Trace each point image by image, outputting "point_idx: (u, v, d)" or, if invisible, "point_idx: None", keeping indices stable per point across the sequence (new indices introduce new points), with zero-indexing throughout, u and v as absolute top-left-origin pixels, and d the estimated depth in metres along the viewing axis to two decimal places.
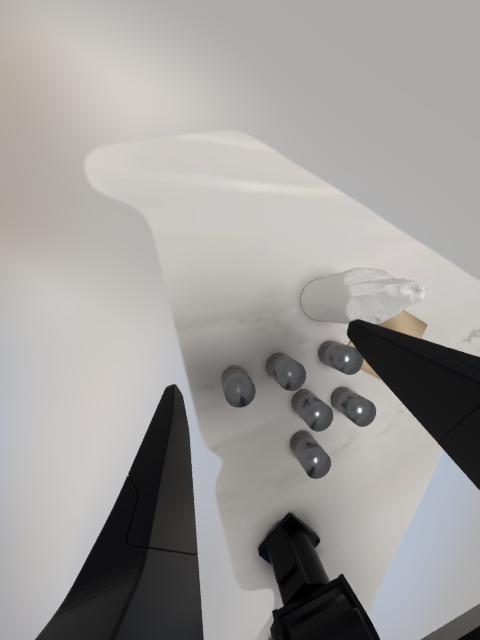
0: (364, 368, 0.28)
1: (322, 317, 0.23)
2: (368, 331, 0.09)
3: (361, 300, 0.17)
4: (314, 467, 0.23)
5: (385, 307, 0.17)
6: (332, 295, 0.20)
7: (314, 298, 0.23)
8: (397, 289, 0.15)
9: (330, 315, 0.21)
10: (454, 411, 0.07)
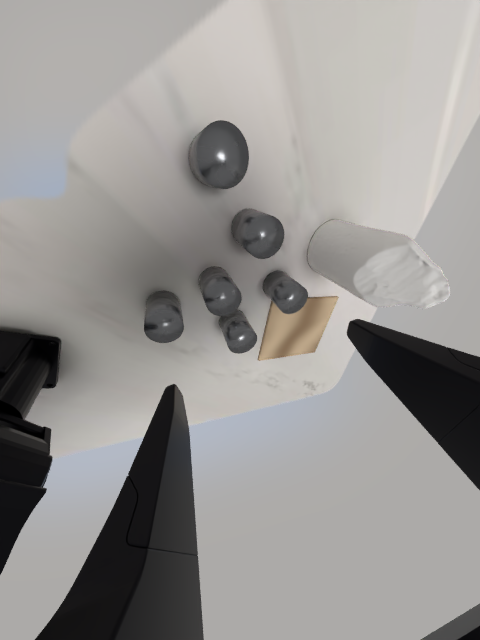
0: (269, 325, 0.27)
1: (328, 249, 0.20)
2: (368, 331, 0.09)
3: (401, 259, 0.15)
4: (159, 325, 0.17)
5: (395, 286, 0.16)
6: (381, 234, 0.16)
7: (350, 227, 0.19)
8: (436, 280, 0.14)
9: (345, 250, 0.18)
10: (454, 411, 0.07)
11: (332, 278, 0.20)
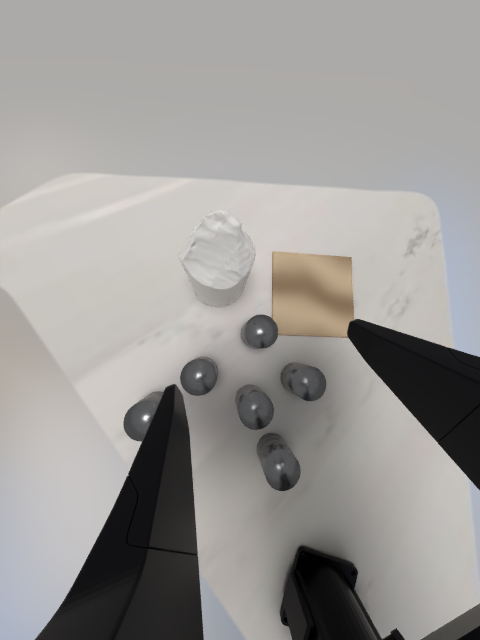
0: (303, 333, 0.24)
1: (212, 300, 0.21)
2: (368, 331, 0.09)
3: (196, 261, 0.15)
4: (279, 475, 0.18)
5: (224, 255, 0.15)
6: None
7: None
8: (206, 228, 0.13)
9: (206, 294, 0.19)
10: (454, 411, 0.07)
11: (238, 291, 0.20)
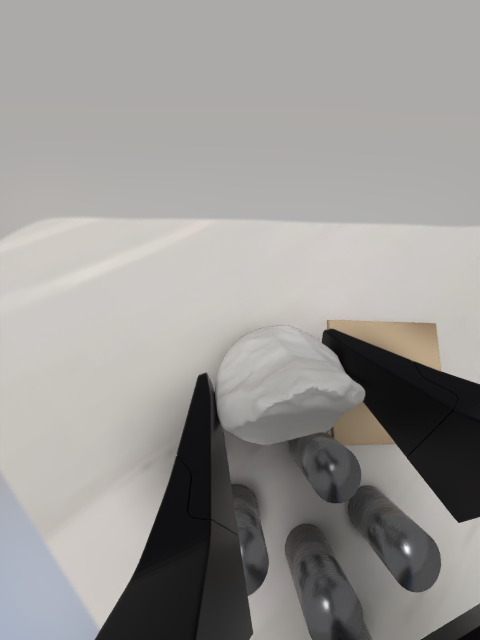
0: (377, 440, 0.17)
1: None
2: (339, 342, 0.09)
3: (251, 425, 0.08)
4: None
5: (306, 420, 0.07)
6: None
7: None
8: (288, 404, 0.06)
9: None
10: (419, 427, 0.07)
11: None
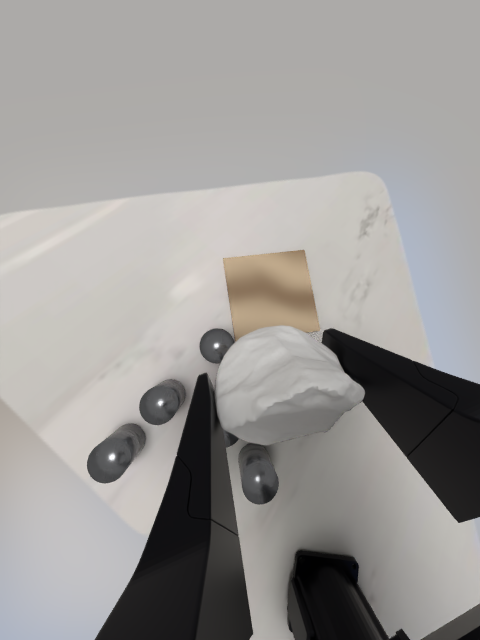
0: None
1: None
2: (339, 342, 0.09)
3: (251, 425, 0.08)
4: (257, 489, 0.18)
5: (306, 420, 0.07)
6: None
7: None
8: (288, 404, 0.06)
9: None
10: (420, 427, 0.07)
11: None
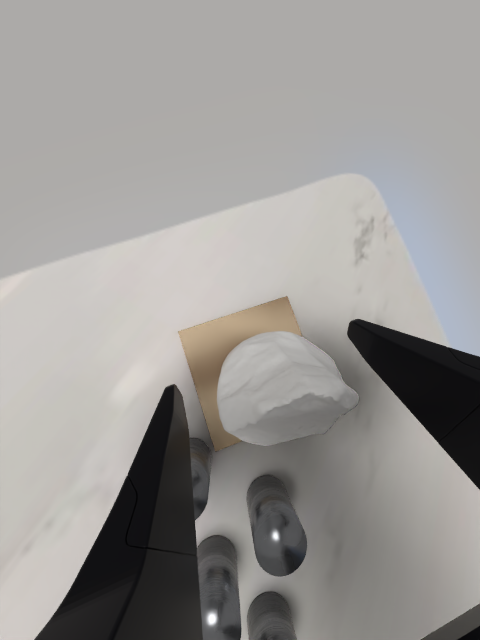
0: None
1: None
2: (368, 331, 0.09)
3: (252, 427, 0.08)
4: None
5: (304, 422, 0.08)
6: None
7: None
8: (287, 408, 0.06)
9: None
10: (455, 411, 0.07)
11: None
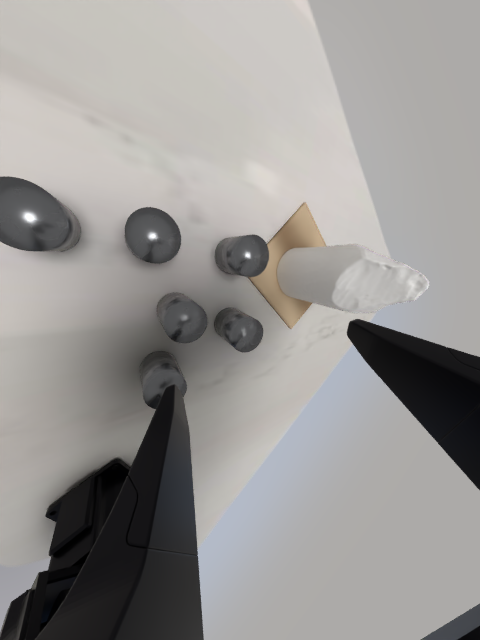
0: (265, 293, 0.22)
1: (296, 282, 0.20)
2: (368, 331, 0.09)
3: (364, 270, 0.15)
4: (159, 393, 0.16)
5: (375, 293, 0.16)
6: (334, 254, 0.17)
7: (304, 256, 0.19)
8: (407, 275, 0.14)
9: (311, 280, 0.18)
10: (454, 411, 0.07)
11: None
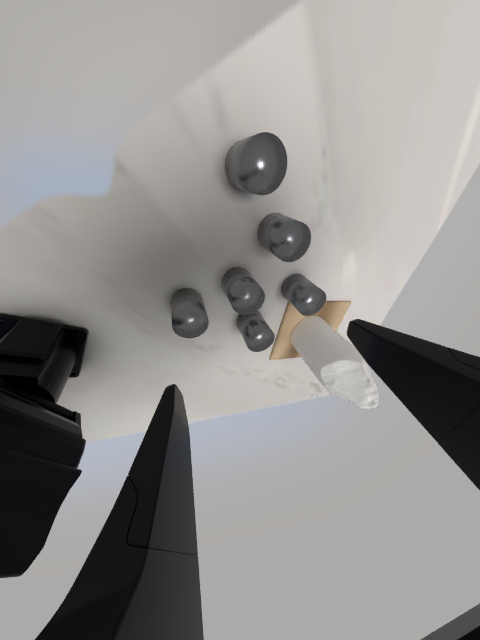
0: (283, 326, 0.27)
1: (308, 338, 0.26)
2: (368, 331, 0.09)
3: (355, 370, 0.21)
4: (186, 321, 0.18)
5: (347, 386, 0.22)
6: (347, 346, 0.23)
7: (327, 329, 0.25)
8: (372, 392, 0.21)
9: (320, 346, 0.24)
10: (454, 411, 0.07)
11: (305, 360, 0.26)
